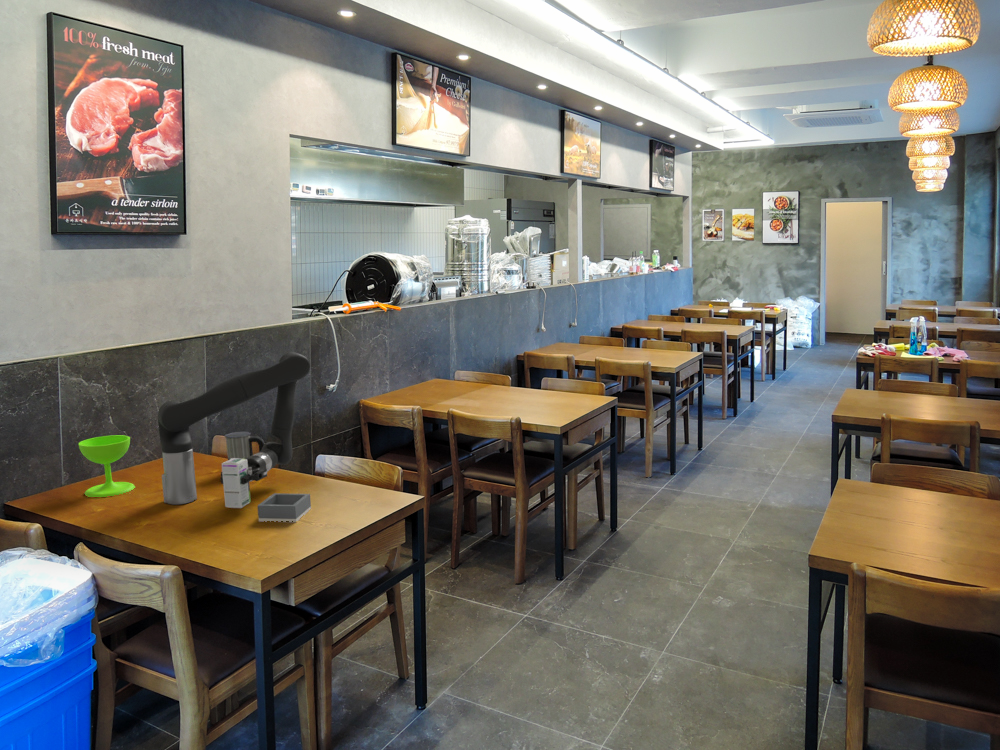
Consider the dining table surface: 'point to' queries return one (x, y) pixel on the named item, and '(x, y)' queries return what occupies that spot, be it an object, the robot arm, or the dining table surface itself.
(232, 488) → the syrup box
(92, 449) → the wineglass
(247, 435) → the milk frother
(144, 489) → the dining table surface
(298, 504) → the socket box
